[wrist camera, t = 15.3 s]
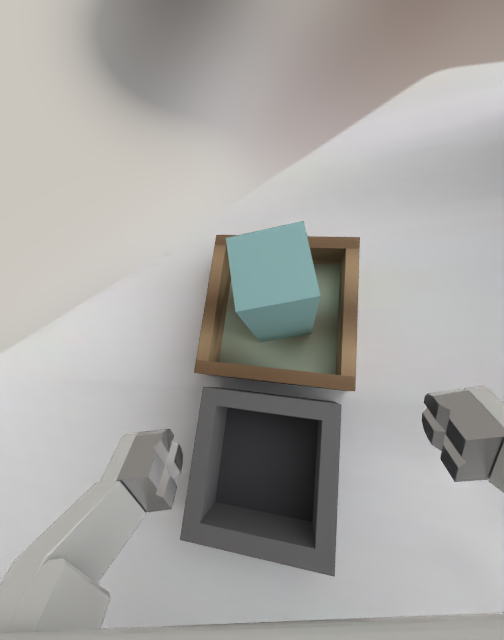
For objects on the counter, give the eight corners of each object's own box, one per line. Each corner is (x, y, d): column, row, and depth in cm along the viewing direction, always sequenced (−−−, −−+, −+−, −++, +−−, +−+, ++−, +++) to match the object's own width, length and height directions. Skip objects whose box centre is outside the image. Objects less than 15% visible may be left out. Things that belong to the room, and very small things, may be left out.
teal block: (301, 285, 25) (303, 220, 15) (311, 333, 24) (320, 296, 14) (252, 295, 25) (225, 238, 16) (260, 342, 24) (235, 311, 15)
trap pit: (218, 387, 24) (203, 387, 21) (333, 401, 23) (341, 404, 19) (200, 513, 22) (179, 539, 18) (327, 541, 20) (334, 576, 16)
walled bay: (226, 254, 27) (216, 234, 24) (351, 258, 25) (359, 237, 22) (208, 374, 25) (194, 372, 21) (346, 390, 23) (355, 391, 19)
